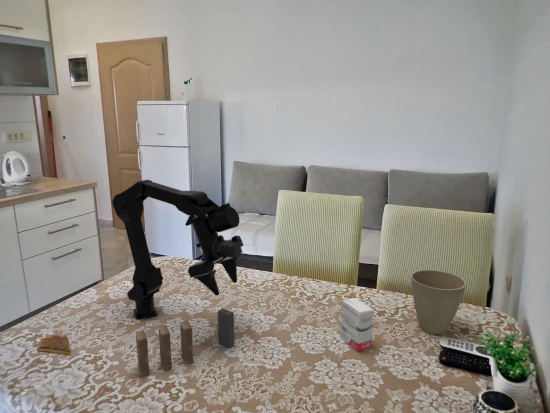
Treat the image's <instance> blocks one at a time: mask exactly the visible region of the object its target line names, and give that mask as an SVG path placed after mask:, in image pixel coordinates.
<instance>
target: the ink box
mask: <svg viewBox="0 0 550 413" xmlns="http://www.w3.org/2000/svg"><path fill="white" fill-rule="evenodd" d="M341 305H342V306H341V321H340V338H341V339H342V340H343V342H345V343H346V344H348V345H349V346H350V347H351V348H352V349H354V350H355V351H356V352H357V353H359V352H362V351H366V350H369V349H371V348H372V342H373V323H374V322H373V321H374V309H373V308H371V307H370V306H368V305H367V304H366V303H364V302H362V301H361V300H360V299H358V298H357V297H354V298H353V297H352V298H347V299H343V300H342V302H341Z"/></svg>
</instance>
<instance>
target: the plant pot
mask: <svg viewBox="0 0 550 413" xmlns="http://www.w3.org/2000/svg"><path fill="white" fill-rule="evenodd" d="M410 276H411V289H412V298H413V304H414V309H415V314H416V316H417V321H418V325H419V327H420V328H422V329H423V330H422V329H421V330H422V331H424V332H425V331H426V333H429V334H432V335H438V334H439V335H444V334H446V332H447V331H448V329H449V327H450V326H451V324H452V322H453V321H454V319H455V316H456V314H457V313H458V310H459V307H460V305H461V303H462V299H463V296H464V293H465V289H466V287H467V282H466V280H465V279H464V278H462V277H461V276H459V275H456V274H454V273H452V272H447V271H442V270H438V269H437V270H435V269H421V270H417V271H415V272H414V271H413V272H412V273H411V275H410ZM443 333H444V334H443Z"/></svg>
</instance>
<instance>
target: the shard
mask: <svg viewBox="0 0 550 413" xmlns="http://www.w3.org/2000/svg"><path fill="white" fill-rule="evenodd" d="M36 351H37V352H46V353H47V352H48V353H51V354H58V355H65V356H66V355H67V356H69V355H71V353H72V351H71V348H70V342H69V337H68V336H67V333H65V334H63V333H62V334H56V335H51V336H46V337H43V338H40V340H39V344H38V347H37V348H36Z"/></svg>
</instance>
